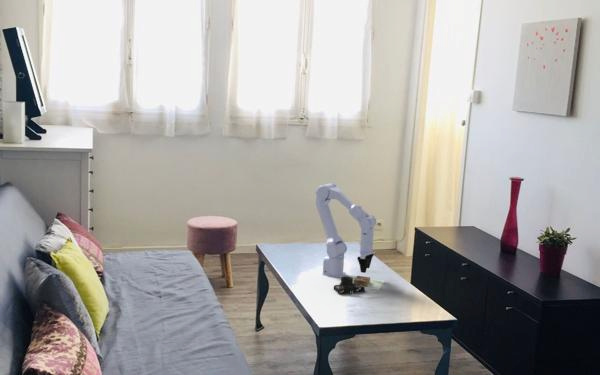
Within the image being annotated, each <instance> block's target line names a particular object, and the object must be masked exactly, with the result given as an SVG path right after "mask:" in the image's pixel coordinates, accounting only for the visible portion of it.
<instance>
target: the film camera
mask: <svg viewBox="0 0 600 375" xmlns="http://www.w3.org/2000/svg"><path fill="white" fill-rule="evenodd" d="M365 289H366V288H364V287H363V286H362V285H359V284H357V283H355V284H354V283H353V278H351V277H347V276H343V277H341V278H340V283H339V284H335V285H333V290H334V291H335V292H337V294H340V295H354V293H356V294H359V293H363V292H365Z"/></svg>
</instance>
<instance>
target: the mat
mask: <svg viewBox="0 0 600 375" xmlns="http://www.w3.org/2000/svg"><path fill="white" fill-rule="evenodd" d="M346 277H351V278H353V283H354V279H355V278H356V277H357V276H352V275H347V276H346ZM385 282H386V280H383V279H382V280H381V279H374V278H370V283H369V284H368V286H367V287H364V286H363V287H364V288H365V289H369V290H375V291H376V290H377V291H379V290H380V289H381V288H382V287H383V285H384V283H385Z"/></svg>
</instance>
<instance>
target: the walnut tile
mask: <svg viewBox="0 0 600 375" xmlns="http://www.w3.org/2000/svg"><path fill="white" fill-rule="evenodd" d="M355 277H356V278H355V279H354V284H355V283H357V284H359V285H362V286H364V287H367V286H368V284H369V283H370V279H371V277H368V276H363V275H362V276H361V275H357V276H355Z"/></svg>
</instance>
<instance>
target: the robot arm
mask: <svg viewBox="0 0 600 375" xmlns="http://www.w3.org/2000/svg"><path fill="white" fill-rule="evenodd" d="M315 195H316V200H315V204H316V208H317V211H318V215H319V217H320V220H321V224H322V226H323V229H324V232H325V236H326V238H327V239H326V243H325V247H326V253H327V255H325V256H324V258H323V262H322V265H323V266H322V276H328V277H333V278H340V279H341V277H345V275H346V272H344V265H345V261H344V260H345V254H346V252H347V250H348V246H347V244H346V243H345V242H344V239H343V238H342V237H341V236H340V235H339V234H338V230H337V227H336V224H335V221H334V219H333V215H332V212H331V209H330V206H329V205H330V202H331V200H335V201H337V202H339V203H340V204H341V205H343V207H344V208H346V209H347V210H348V214H349V215H350V216H351V217H352V218H353V219H354V220H356V222H358V224H359V227H360V245H359V246H360V247H359V254H360V256H357V261H358V263H359V269H360V273H367V269H369V268H370V267H371V263H372V260H373V258H374V255H375V254H376V251H373V249H374V248H373V247H374V231H375V226H376V225H377V219H376V218H375V216H374V215H372V214H369V213H368V212H366V211H365V210H364V209H363V208H362V206H361V205H359V204H354V203H353V202H352V200H350V199H349V198H348V197H347V196H346V194H344V193H343V192H342V190H341V189H340V187H339V186H337V185H336V184H335V183H333V182H329V183H326V184H321V185H319V186H318V187H317V189H316V190H315Z"/></svg>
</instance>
